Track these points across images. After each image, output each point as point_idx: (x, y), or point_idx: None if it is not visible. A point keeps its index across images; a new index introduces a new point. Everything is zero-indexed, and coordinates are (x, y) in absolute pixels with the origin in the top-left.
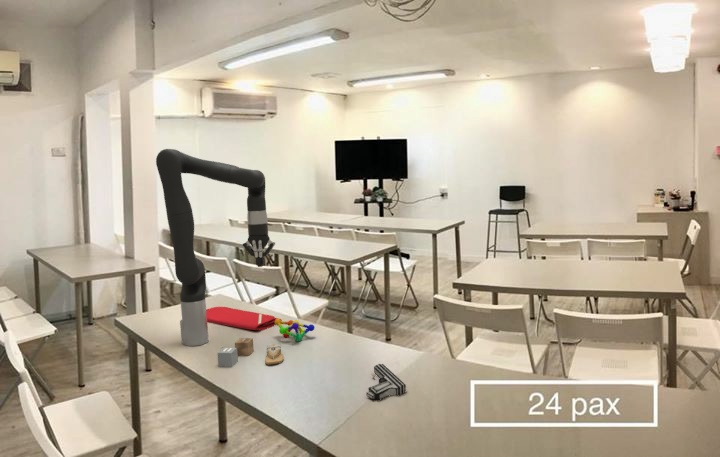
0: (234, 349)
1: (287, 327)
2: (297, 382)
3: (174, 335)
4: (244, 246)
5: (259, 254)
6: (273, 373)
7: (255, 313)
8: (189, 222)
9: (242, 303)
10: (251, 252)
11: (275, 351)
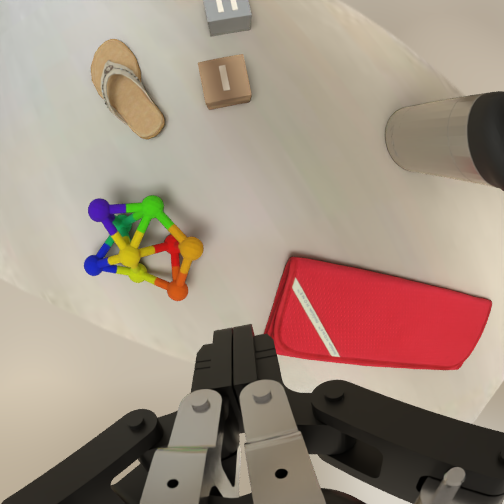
0: (207, 10)
1: (141, 222)
2: (32, 16)
3: None
4: (492, 439)
5: (215, 416)
6: (88, 18)
7: (352, 355)
8: None
9: None
10: (348, 413)
11: (103, 69)
